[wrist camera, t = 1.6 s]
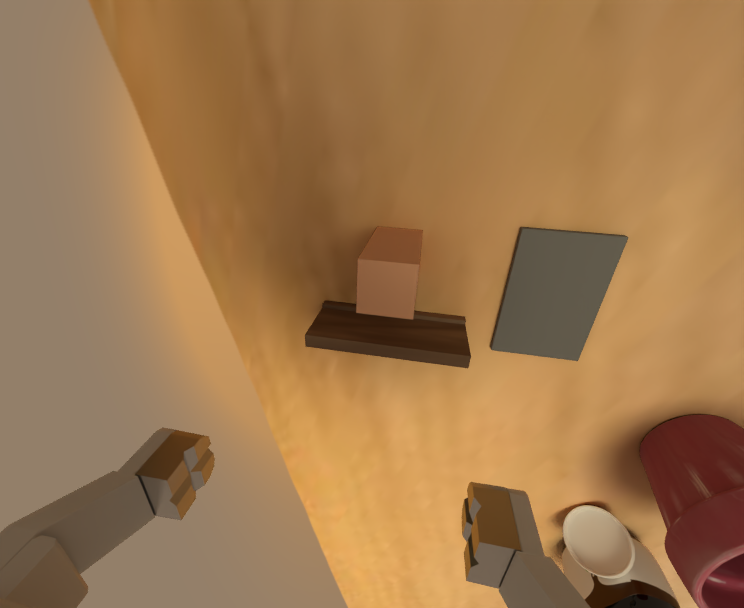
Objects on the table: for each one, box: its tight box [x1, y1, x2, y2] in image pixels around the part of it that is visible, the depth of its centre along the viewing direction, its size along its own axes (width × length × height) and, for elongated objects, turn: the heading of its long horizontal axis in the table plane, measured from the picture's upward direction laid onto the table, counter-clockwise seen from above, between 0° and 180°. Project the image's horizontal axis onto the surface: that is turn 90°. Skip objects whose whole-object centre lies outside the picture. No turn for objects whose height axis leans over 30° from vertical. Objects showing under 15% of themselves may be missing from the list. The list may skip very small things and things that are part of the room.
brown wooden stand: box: [305, 301, 471, 368], centre depth 31 cm, size 5×14×6 cm, turn 88°
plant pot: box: [640, 415, 744, 608], centre depth 29 cm, size 14×14×13 cm
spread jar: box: [562, 505, 680, 608], centre depth 37 cm, size 12×11×12 cm
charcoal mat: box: [490, 227, 628, 361], centre depth 29 cm, size 12×8×1 cm, turn 178°
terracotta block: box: [356, 226, 423, 320], centre depth 26 cm, size 4×4×9 cm
